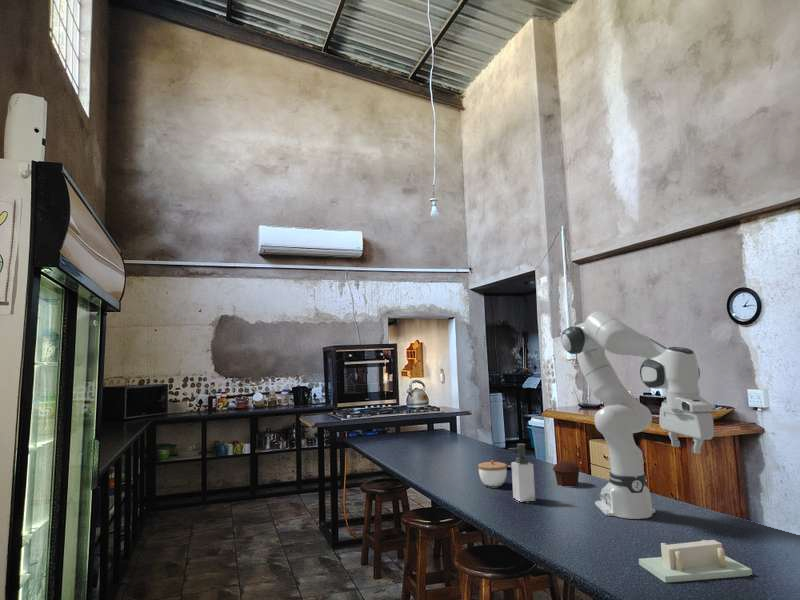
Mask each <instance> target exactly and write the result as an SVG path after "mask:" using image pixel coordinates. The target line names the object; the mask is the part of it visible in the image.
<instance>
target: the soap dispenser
mask: <svg viewBox="0 0 800 600" xmlns="http://www.w3.org/2000/svg"><path fill="white" fill-rule="evenodd" d="M516 446H517V447H509V448H507V452H509V453H510V452H513V453H514V452H517V457H515V461H511V464H510V465H512V467H511V479H512V480H511V482H512V483H511V484H512V499H513V498H515V499H516V500H518V501H520V502H523V501H534V500H535V501H536V492H535V473H534V464H533V463H532V462H530V461H529V460H528V457H526V444H525V443H516ZM516 500H515V501H516ZM518 501H517V502H518Z"/></svg>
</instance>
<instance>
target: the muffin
mask: <svg viewBox="0 0 800 600" xmlns="http://www.w3.org/2000/svg"><path fill="white" fill-rule="evenodd" d="M552 471H554V475H555V480H556V484H557V486H559V485H561V486H560V487H562V486H575V487H577V485H578V486H579V476H580V471H581V468H580V467H579V465H577V464H576V463H575V462H574V461H571V460H560V461H558V462H557V463H555V464H554V466H553V468H552Z"/></svg>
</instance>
